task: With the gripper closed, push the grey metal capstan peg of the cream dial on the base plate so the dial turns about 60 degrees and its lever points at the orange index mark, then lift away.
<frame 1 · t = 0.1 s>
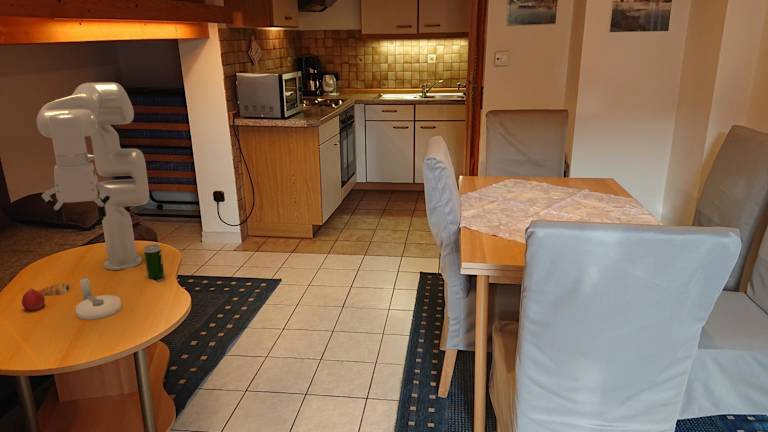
hand: (83, 220, 150), 31 cm above the table, tool pointing down, fingers open, 9 cm apart
pastry: (56, 296, 176), on the table
beer can: (156, 279, 188), on the table
dial: (94, 297, 164), point 5 cm above the table, hinge at 0.0°
base plate: (96, 314, 164), on the table
onion: (35, 312, 165), on the table
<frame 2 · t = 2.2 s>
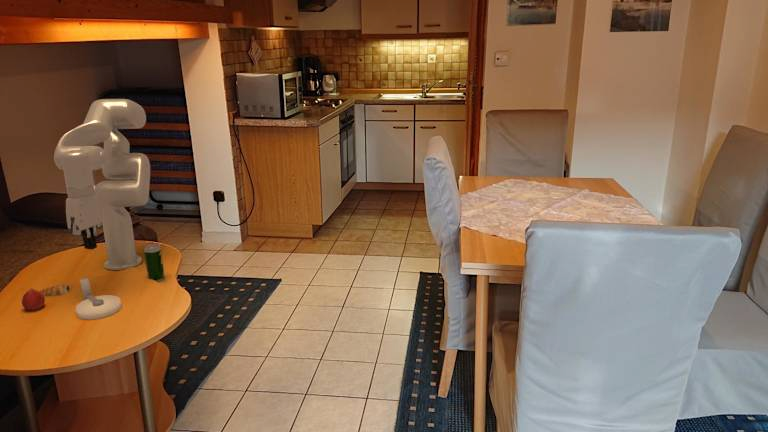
hand: (90, 248, 170), 17 cm above the table, tool pointing down, fingers closed
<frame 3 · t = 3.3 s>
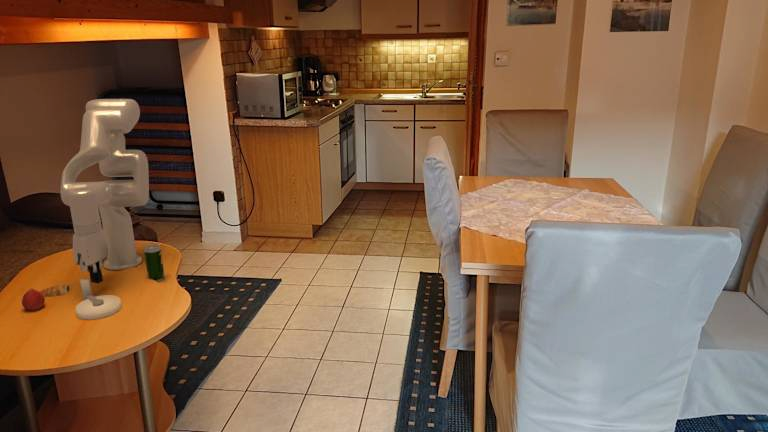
hand: (97, 281, 174), 5 cm above the table, tool pointing down, fingers closed
nothing on the table moved.
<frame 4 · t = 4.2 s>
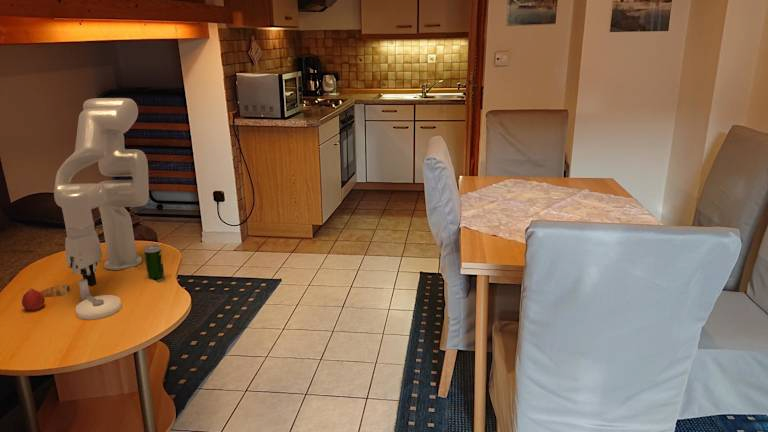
hand: (90, 284, 171), 5 cm above the table, tool pointing down, fingers closed
dial: (94, 297, 164), point 5 cm above the table, hinge at 3.5°, touching gripper
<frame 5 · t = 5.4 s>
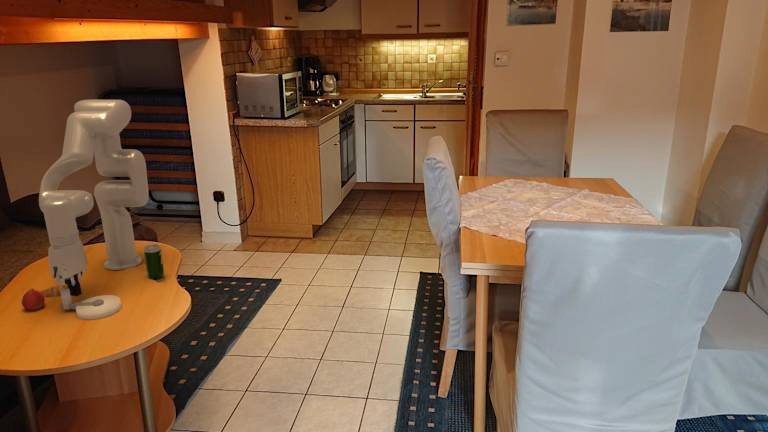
hand: (75, 294, 166), 5 cm above the table, tool pointing down, fingers closed
dial: (89, 299, 162), point 5 cm above the table, hinge at 46.3°, touching gripper
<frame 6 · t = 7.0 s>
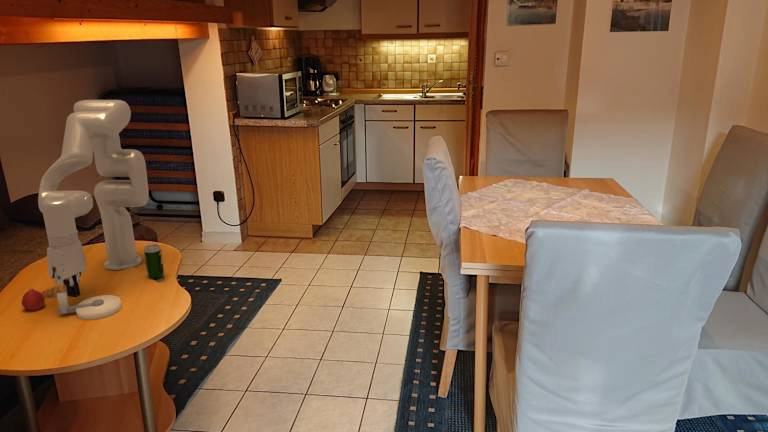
hand: (74, 295, 165), 5 cm above the table, tool pointing down, fingers closed
dial: (89, 300, 162), point 5 cm above the table, hinge at 64.0°
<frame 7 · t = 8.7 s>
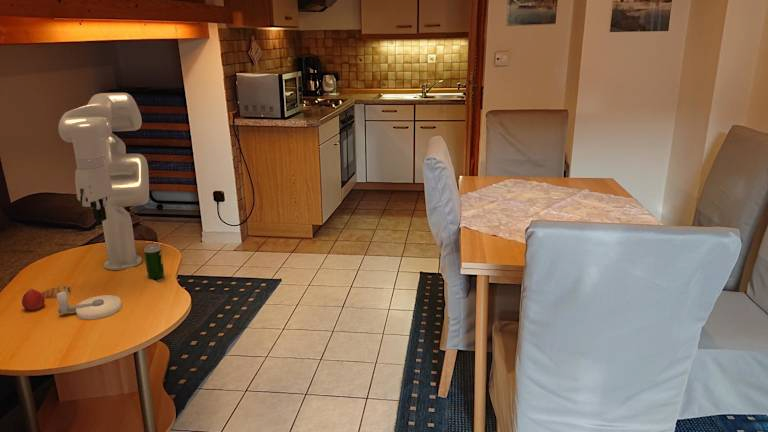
hand: (100, 219, 170), 25 cm above the table, tool pointing down, fingers closed
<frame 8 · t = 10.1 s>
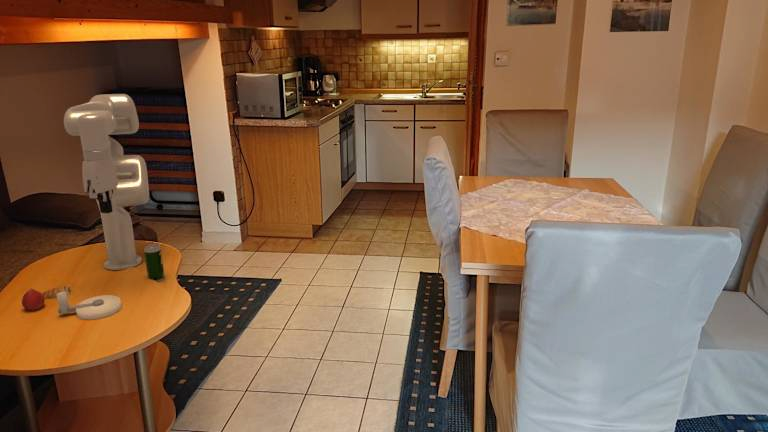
hand: (106, 212, 171), 27 cm above the table, tool pointing down, fingers closed
at the end: dial at +64° (first picture: +0°) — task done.
